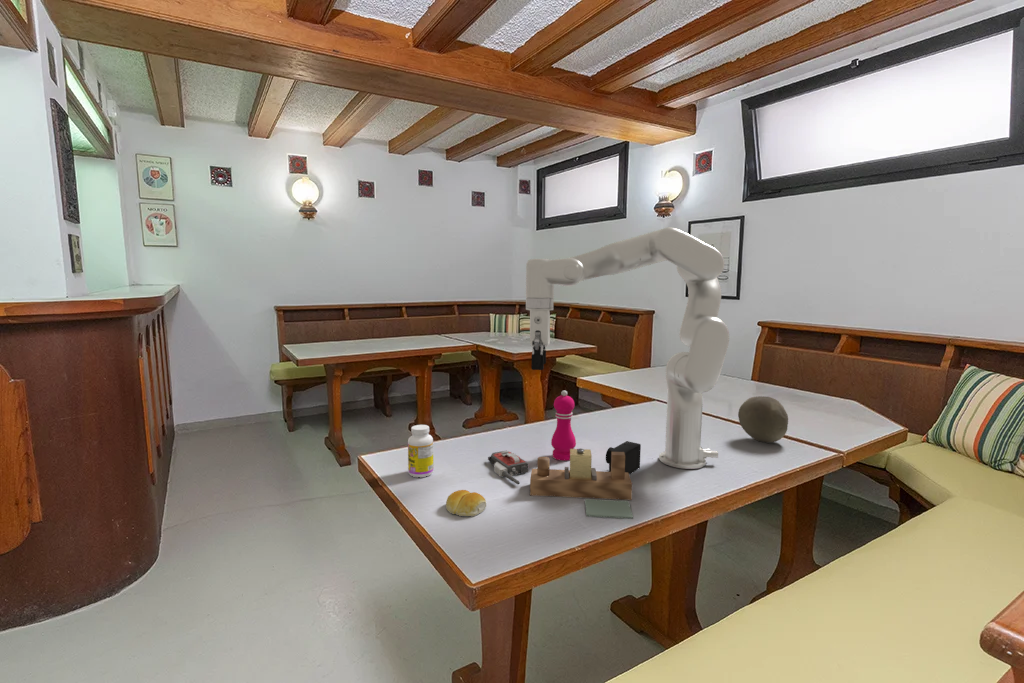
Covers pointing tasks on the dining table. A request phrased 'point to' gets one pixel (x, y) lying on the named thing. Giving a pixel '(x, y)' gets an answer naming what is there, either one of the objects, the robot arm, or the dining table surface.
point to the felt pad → (608, 508)
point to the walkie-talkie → (508, 464)
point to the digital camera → (627, 455)
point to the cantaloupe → (763, 419)
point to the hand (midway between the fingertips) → (538, 366)
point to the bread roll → (465, 503)
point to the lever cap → (580, 464)
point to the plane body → (582, 481)
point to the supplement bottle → (420, 452)
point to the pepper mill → (563, 428)
